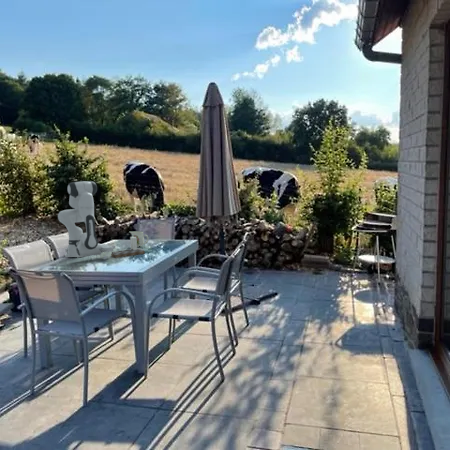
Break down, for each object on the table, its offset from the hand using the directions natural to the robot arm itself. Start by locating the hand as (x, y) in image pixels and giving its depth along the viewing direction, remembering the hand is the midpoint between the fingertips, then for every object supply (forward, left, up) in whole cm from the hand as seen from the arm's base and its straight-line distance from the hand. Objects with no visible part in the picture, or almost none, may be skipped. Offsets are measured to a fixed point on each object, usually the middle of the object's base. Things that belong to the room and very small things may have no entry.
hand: (114, 246), depth 377 cm
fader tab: (0, +16, -6) cm, 17 cm away
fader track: (0, +11, -8) cm, 14 cm away
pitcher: (-33, +35, -8) cm, 49 cm away
